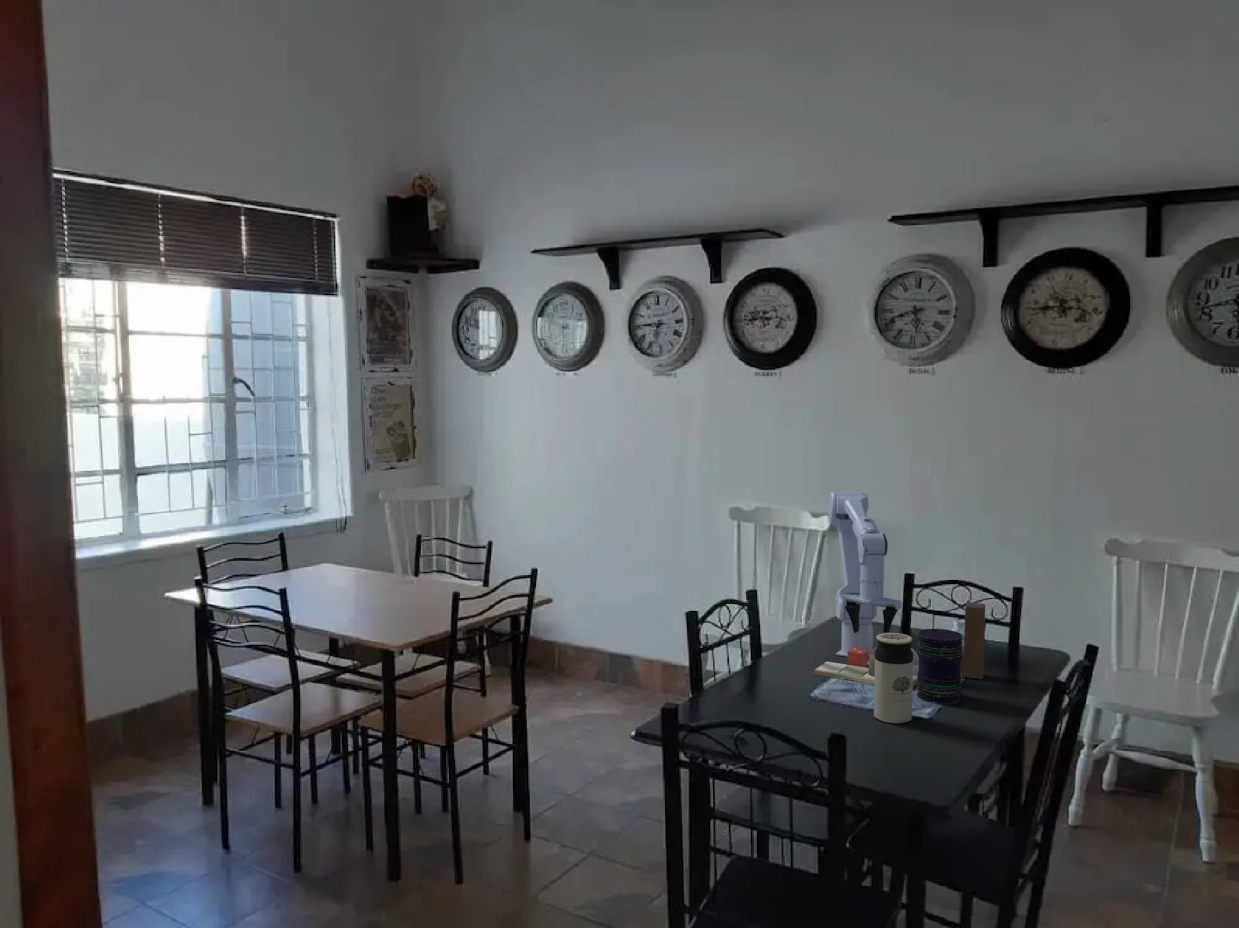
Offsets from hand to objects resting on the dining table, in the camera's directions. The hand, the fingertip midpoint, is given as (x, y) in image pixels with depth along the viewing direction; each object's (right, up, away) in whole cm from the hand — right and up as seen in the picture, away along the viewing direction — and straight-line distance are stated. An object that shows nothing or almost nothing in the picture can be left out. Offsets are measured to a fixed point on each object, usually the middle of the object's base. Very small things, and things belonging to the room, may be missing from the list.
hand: (871, 634), depth 249 cm
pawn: (0, -9, -6) cm, 11 cm away
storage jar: (+11, -12, -20) cm, 25 cm away
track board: (-2, -10, -5) cm, 11 cm away
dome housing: (+9, -9, 0) cm, 13 cm away
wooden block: (+22, -10, -3) cm, 24 cm away
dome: (+9, -9, 0) cm, 12 cm away
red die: (-2, -9, +5) cm, 10 cm away
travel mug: (-4, -13, -33) cm, 36 cm away
